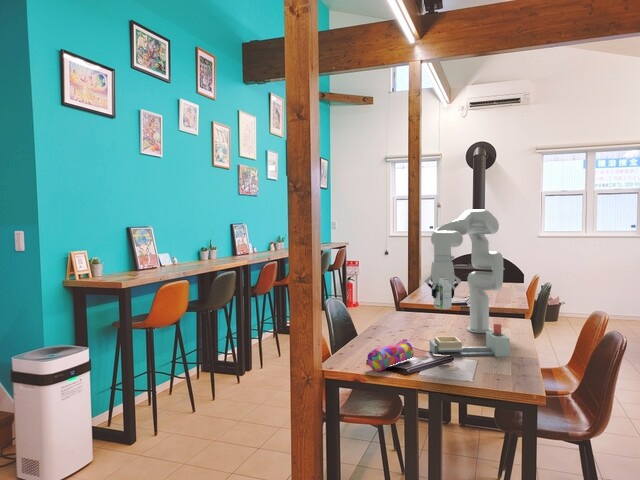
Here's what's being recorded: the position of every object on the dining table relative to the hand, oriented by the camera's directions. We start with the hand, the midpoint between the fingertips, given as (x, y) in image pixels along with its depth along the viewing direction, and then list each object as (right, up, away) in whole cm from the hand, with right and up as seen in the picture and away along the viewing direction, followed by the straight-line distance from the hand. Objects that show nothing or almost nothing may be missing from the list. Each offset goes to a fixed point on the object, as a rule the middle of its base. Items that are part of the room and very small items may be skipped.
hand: (442, 297), depth 207 cm
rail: (+7, -24, -4) cm, 26 cm away
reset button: (+23, -19, -5) cm, 30 cm away
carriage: (+1, -23, -4) cm, 23 cm away
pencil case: (-27, -26, -19) cm, 42 cm away
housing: (+23, -24, -5) cm, 33 cm away
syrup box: (0, -5, 0) cm, 5 cm away
